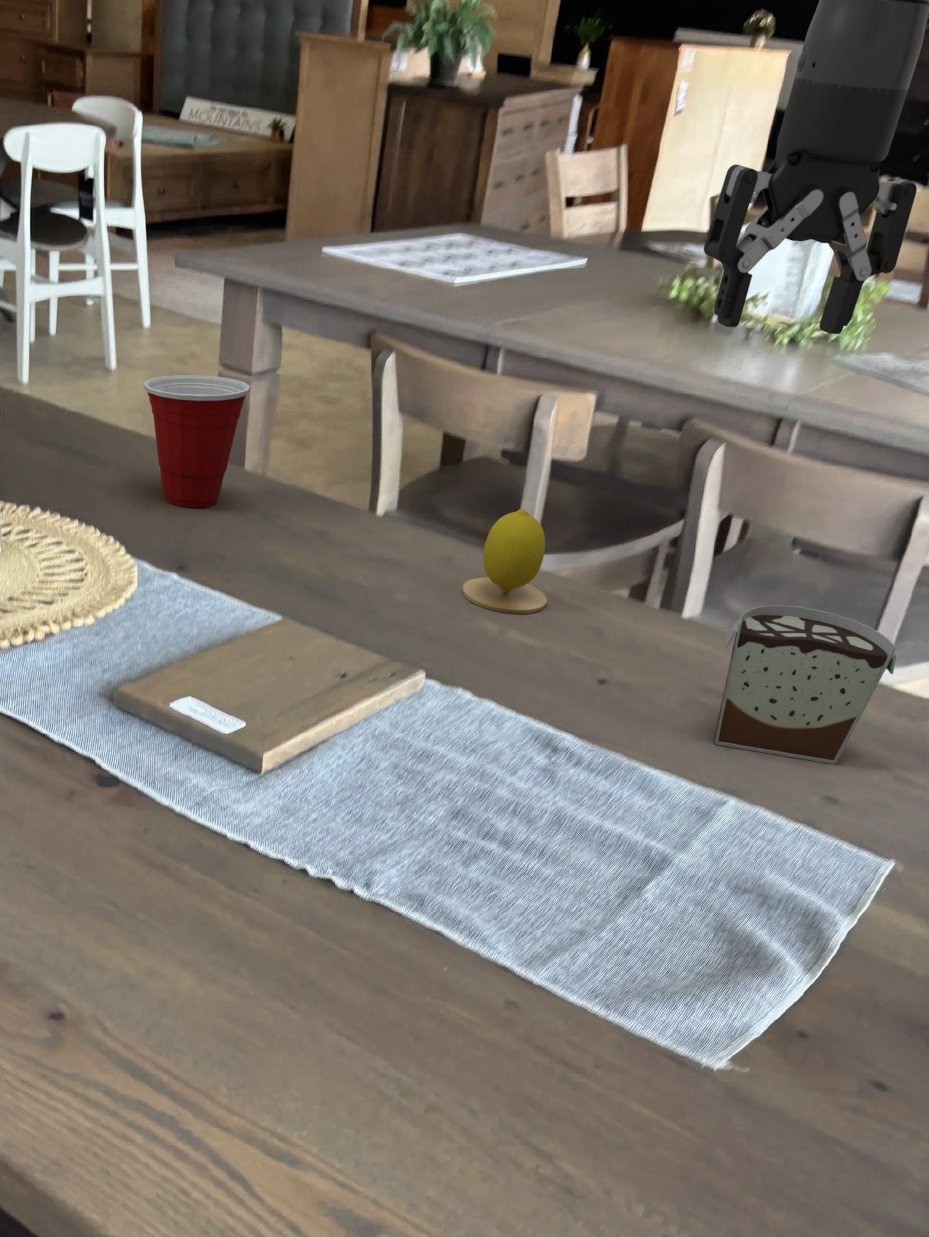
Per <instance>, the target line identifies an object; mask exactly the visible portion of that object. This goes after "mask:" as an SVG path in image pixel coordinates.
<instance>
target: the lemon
mask: <svg viewBox="0 0 929 1237" xmlns="http://www.w3.org/2000/svg"><path fill="white" fill-rule="evenodd" d="M545 549H546V536H545V531H544V529H543V527H542V525H541V523H540V522H539V520H538V519H537V518H535V516H532V515H531V514H529V513H528V510H526V509H524V508H519V509H518V510H517V511H512V512H509V513H507V514H505V515H503V516H501V517H500V518H499V519H497V520H496V522H494V524H493V526H492V527H491V529H490V531H489V532H488V535H487V536H486V540H485V542H484V547H483V555H482V556H483V557H482V560H483V568H484V571H485V573H486V576H487V577H489V578H490V580H491V581H492V582H493V583H495V584H496V585H498V586H499V588H500V589H501V591H502V592H503V593H509V592H510V591H512V590H513V589H515V588H520V587H522V586H525V585H526V584H528V585H529V583H530V582H531V581H533V580H534V579H535V578H536V576H537V575H538V573H539V571H540V569H541V567H542V564H543V562H544V557H545Z"/></svg>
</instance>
